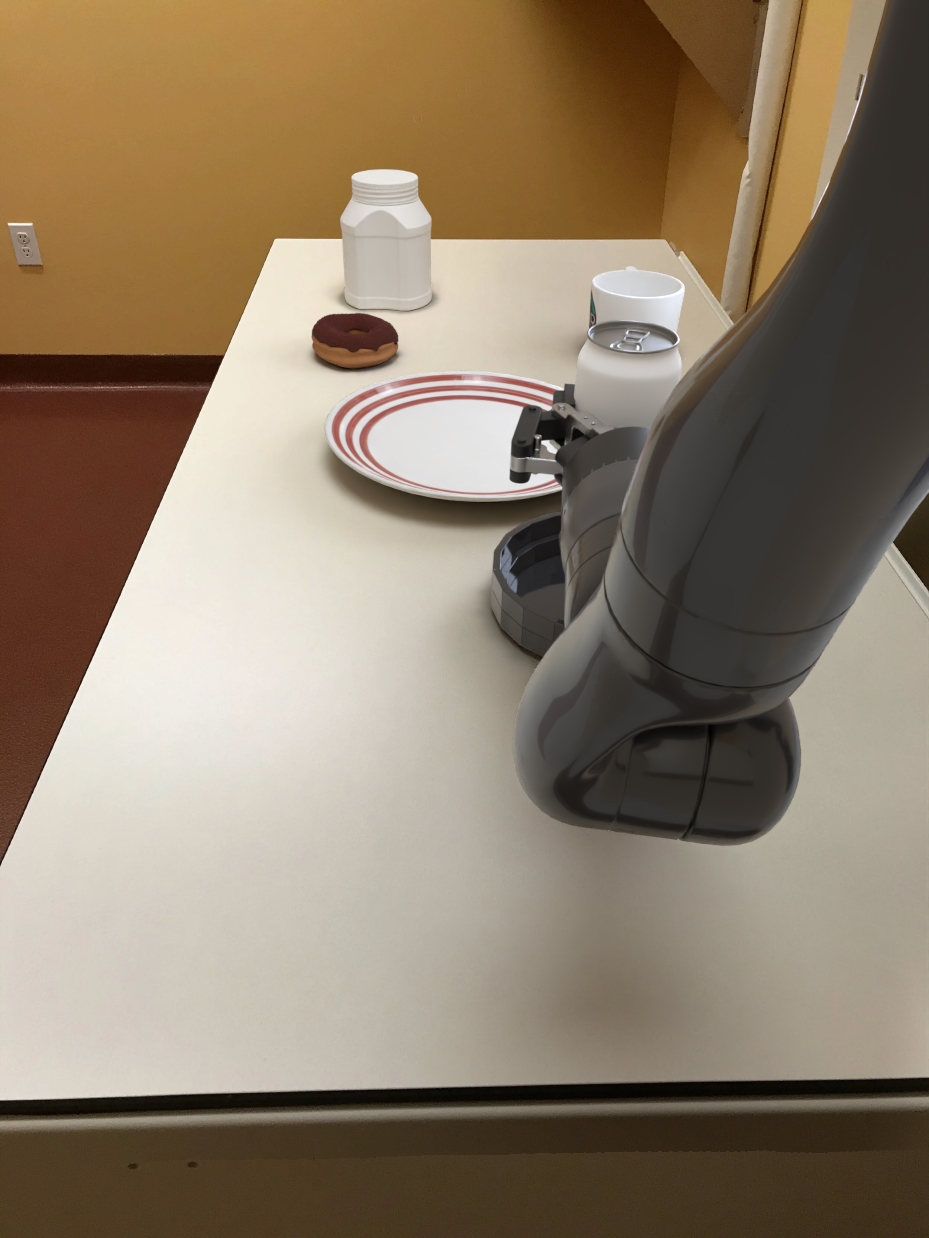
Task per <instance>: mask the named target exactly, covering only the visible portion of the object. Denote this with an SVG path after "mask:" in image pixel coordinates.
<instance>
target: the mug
mask: <svg viewBox="0 0 929 1238" xmlns="http://www.w3.org/2000/svg"><path fill="white" fill-rule="evenodd" d="M685 293H686V286H685V284H684V282H683V281H681V280H680V279H679V278H676V277H674V276H672V275H669V274H666V273H661V272H658V271H651V270H645V269H642V270H641V269H638V268H637V267H636V266H633V265H627V266H625V267H624V268H623V269H618V270H617V269H616V270H609V271H604V272H601V273H599V274H596V275H595V276H594V277H593V278H592V280H591V283H590V302H589V319H588V320H589V321H588V322H589V323H588V329H589V328H590V327H592V326H593V325H596V324H598V323H602V322H607V321H615V320H633V321H643V322H649V323H653V324H657V325H661V326H663V327H666V328H668V329H670V330H672V331H674V332H675V333H676V334H677V333H678V328H679V322H680V317H681V313H682V309H683V302H684V297H685Z"/></svg>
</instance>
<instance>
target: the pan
mask: <svg viewBox="0 0 929 1238" xmlns="http://www.w3.org/2000/svg"><path fill="white" fill-rule="evenodd" d="M561 511H562V510H561ZM561 511H553V512H549V513H546V514H543V515H539V516H537V517H534V518H530V519H528V520H525V521H524V522H522V523H521V524H519V525H517V526H516V527H514V528H512V529H511V530H509V531H508V532H506V533H505V535H504V536H503V537H502V538H501V540H500V541H499V543H498V544H497V546H496V547H495V548H494V549H493V557H492V569H491V571H492V572H491V593H490V595H491V596H490V607H491V610H492V612H493V615H494V616H495V619H496V620H497V623H498V624H499V626H500V629H501V630H503V631H504V632H505V633H506V634H507V635H508V636H509V637H510V638H512V639H513V640H514V641H515V643H517V644H518V645H519V646H520V647H522V648H523V649H525V650H528V651H529V652H532V653H534V654H535V655H538V656H540V657H542V658H543V656H544V655H545V653H546V652H547V650H548V649H549V648H550V646H551V645H552V644H553V642H554V641H555V640H556V639H557V637H558V636H559V635H560V634H561V633H562V632H563V630H564V603H565V573H564V570H563V565H562V559H561V550H560V545H559V534H560V531H561Z"/></svg>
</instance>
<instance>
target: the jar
mask: <svg viewBox="0 0 929 1238" xmlns="http://www.w3.org/2000/svg"><path fill="white" fill-rule="evenodd" d="M350 179H351V180H350V181H351V193H352V194H351V198H350V200H349V202H348V203H347V205H346V206H345V209H344V211H343V212H342V214H341V216H340V219H339V220H340V223H339V224H340V229H341V240H342V241H341V245H342V260H343V277H344V279H343V280H344V287H343V290H344V291H343V292H344V300H345V303H347V304H348V305H349V306H351V307H353V308H355V309H359V310H393V311H400V312H401V311H402V312H409V311H414V310H417V309H421V308H423V307H425V306H426V305H428V304H429V303H430V302H431V301H432V299H433V287H432V227H433V226H432V225H433V223H432V216H431V215H430V212H429V211H428V210H427V208H426V206H425V205H424V203H423V202H422V200H421V198H420V196H419V176H418V175H417V174H416V173H414V172H411V171H408V170H402V169H383V168H382V169H368V170H362V171H358V172H356V173H353V174H352V175H351V177H350Z"/></svg>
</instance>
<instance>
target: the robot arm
mask: <svg viewBox="0 0 929 1238" xmlns="http://www.w3.org/2000/svg"><path fill="white" fill-rule="evenodd" d="M862 83H863V84H862V87H861V90H860V95H859V98H858V101H857V104H856V107H855V111H854V113H853V117H852V120H851V123H850V126H849V129H848V132H847V135H846V138H845V140H844V144H843V147H842V149H841V151H840V154H839V156H838V159H837V161H836V164H835V166H834V169H833V171H832V174H831V176H830V180H829V182H828V184H827V185H826V187H825V190H824V192H823V195H822V196H821V198H820V201H819V203H818V205H817V207H816V208H815V211H814V213H813V215H812V218H811V219H810V221H809V223H808V225H807V227H806V229H805V231H804V233H803V234H802V236H801V237H800V240H799V242H797V243H798V244H797V245H796V246H795V249H794V250H793V252H792V254H790V256H789V257H788V259H787V261H786V262H785V263H784V265H783V266H782V267H781V269H780V270H779V272H778V274H777V275H776V276H775V278H774V279H773V281H772V282H771V283H770V285H769V286H768V288H767V289H766V290H765V291H763V293H762V294H761V295H760V296H759V298H758V299H757V300H756V301H755V302H754V303H753V304H751V306H750V307H749V308H748V310H747V311H745V313H744V314H742V316H740V318H738V319H737V321H735V322H734V323H733V324H732V325H731V326H730V327H729V328H728V329H726V331H725V332H724V333H723V334H722V335H721V336H720V337H719V338H718V339H717V340H716V341H715V342H714V343H713V344H712V345H711V346H709V348H708V349H707V350H706V351H705V352H704V353H703V354H701V355H700V357H698V359H697V360H696V361H695V362H694V363H693V365H692V366H691V367H690V368H689V369H688V370H687V371H686V373H685V374H684V375H683V376H682V378H680V382H679V383H678V384H677V385H676V387H675V388H674V389H673V391H672V392H671V394H670V395H669V397H668V398H667V399H666V401H665V402H664V404H663V406H662V407H661V409H660V411H659V413H658V414H657V416H656V418H655V420H654V422H653V423H652V426H651V428H645V427H621V428H614V427H613V426H611V425H609V426H606V425H605V424H603V423H602V422H601V421H600V420H598V419H597V418H596V417H595V416H593V415H592V414H591V413H590V412H588V411H584V412H578V411H577V410H575V399H574V390H575V383H564V385H563V388H564V391H563V390H556V391H555V392H554V393H553V404H552V409H551V410H549V411H545V412H542V408H541V407H539V406H536V405H527V406H525V407H523V410H522V412H521V415H520V418H519V421H518V424H517V426H516V429H515V432H514V435H513V438H512V441H511V456H510V475H509V479H510V481H511V482H514V483H518V484H523V483H527V482H528V481H529V480H530V477H531V473H532V474H535V475H536V474H538V473H541V474H550V475H554V478H555V480H556V481H557V483H559V484H560V485H561V486H562V490H561V531H560V534H559V545H560V550H561V559H562V565H563V570H564V573H565V603H564V630H563V632H562V633H561V634H560V635H559V636H558V637H557V639H556V640H555V641H554V642H553V644H552V645H551V646H550V648H549V649H548V650H547V652H546V653H545V655H544V656H543V657H542V658H541V659H540V660H539V662H538V663H537V665H536V667H535V669H534V671H533V672H532V673H531V676H530V677H529V680H528V682H527V684H526V685H525V688H524V691H523V693H522V696H521V698H520V701H519V705H518V707H517V712H516V714H515V719H514V723H513V732H512V743H511V744H512V745H511V746H512V749H511V751H512V759H513V765H514V770H515V773H516V777H517V779H518V782H519V785H521V788H522V790H523V791H524V793H525V794H526V796H527V797H528V799H529V800H530V801H531V803H533V805H534V806H536V807H537V809H539V810H540V811H541V812H542V813H544V814H545V815H546V816H547V817H549V818H551V819H553V820H555V821H557V822H560V823H563V824H566V825H569V826H572V827H577V828H585V829H592V830H597V831H598V830H599V831H606V832H607V831H609V832H615V833H621V834H622V833H623V834H630V835H636V836H642V837H651V838H658V839H665V840H666V839H667V840H674V841H678V840H679V841H680V842H687V843H695V844H701V845H710V846H720V847H729V846H731V847H732V846H741V845H743V844H744V845H745V844H748V843H752V842H754V841H757V840H758V839H761V838H762V837H764V836H765V835H767V834H768V833H769V832H771V831H772V830H773V829H774V827H775V826H776V825H777V824H778V823H779V822H781V820H782V819H783V817H784V816H785V815H786V813H787V812H788V809H789V807H790V805H791V804H792V801H793V799H794V798H795V794H796V792H797V789H798V785H799V781H800V775H801V767H802V747H801V737H800V729H799V726H798V721H797V718H796V713H795V709H794V706H793V704H792V701H791V699H790V697H791V696H793V694H794V693H795V692H796V691H797V690H798V689H799V688H800V686H801V685H802V684H803V683H804V682H805V681H806V679H807V678H808V676H809V675H810V673H811V672H812V671H813V669H814V667H816V665H817V663H818V661H819V660H820V658H821V656H822V655H823V653H824V652H825V650H826V649H827V647H828V645H829V643H830V642H831V641H832V639H833V637H834V636H835V634H836V633H837V631H838V630H839V628H840V626H841V624H842V623H843V622H844V620H845V619H846V616H847V615H848V613H849V612H850V610H851V608H852V607H853V606H854V604H855V602H856V600H857V599H858V597H859V596H860V595H861V593H862V592H863V589H864V588H865V586H866V585H867V583H868V582H869V580H870V579H871V577H872V575H873V574H874V572H875V570H876V569H877V567H878V566H879V564H880V562H881V560H882V559H883V557H884V556H885V554H886V553H887V551H888V550H889V548H890V547H891V545H893V543H894V541H895V540H896V538H897V537H898V535H899V534H900V532H901V531H902V529H903V528H904V527H905V525H906V523H907V522H908V521H909V519H910V518H911V516H912V515H913V513H914V512H915V511H916V510H917V508H918V507H919V506H920V504H921V503H922V501H923V500H924V499H925V498H926V497H927V495H928V494H929V0H885V2H884V6H883V11H882V14H881V18H880V22H879V26H878V30H877V33H876V36H875V40H874V44H873V48H872V52H871V54H870V58H869V62H868V65H867V69H866V73H865V76H864V80H863V82H862ZM546 440H549V443H550V444H551V445H552V446H553V447H555V448H556V449H557V450H558V451H557V452H556V454H554V453H551V452H549V451H548V450H547V447H546V446H545V445H543V444H541V442H542V441H546Z"/></svg>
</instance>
